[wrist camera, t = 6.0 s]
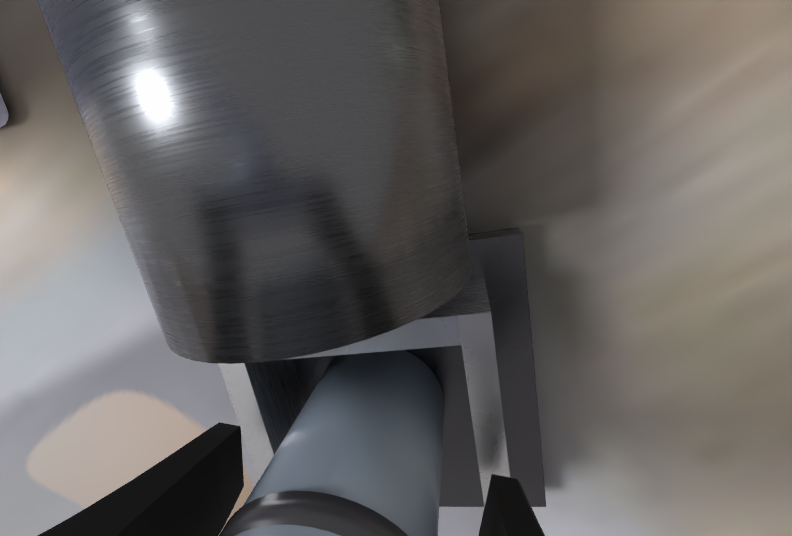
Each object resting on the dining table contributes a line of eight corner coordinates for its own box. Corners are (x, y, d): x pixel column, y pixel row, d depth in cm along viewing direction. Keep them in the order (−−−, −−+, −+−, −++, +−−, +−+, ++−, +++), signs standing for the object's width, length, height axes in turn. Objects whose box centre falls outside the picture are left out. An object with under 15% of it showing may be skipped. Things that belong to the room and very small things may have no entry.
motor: (136, -25, 11) (-332, -273, 5) (486, -138, 9) (556, -868, 3) (295, 489, 16) (186, 722, 10) (541, 487, 14) (612, 778, 8)
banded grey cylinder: (310, 436, 14) (182, 684, 8) (325, 327, 13) (183, 516, 6) (432, 469, 14) (407, 762, 7) (461, 360, 12) (465, 602, 6)
